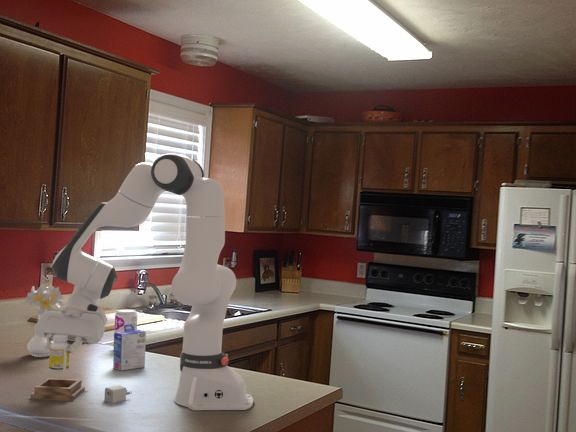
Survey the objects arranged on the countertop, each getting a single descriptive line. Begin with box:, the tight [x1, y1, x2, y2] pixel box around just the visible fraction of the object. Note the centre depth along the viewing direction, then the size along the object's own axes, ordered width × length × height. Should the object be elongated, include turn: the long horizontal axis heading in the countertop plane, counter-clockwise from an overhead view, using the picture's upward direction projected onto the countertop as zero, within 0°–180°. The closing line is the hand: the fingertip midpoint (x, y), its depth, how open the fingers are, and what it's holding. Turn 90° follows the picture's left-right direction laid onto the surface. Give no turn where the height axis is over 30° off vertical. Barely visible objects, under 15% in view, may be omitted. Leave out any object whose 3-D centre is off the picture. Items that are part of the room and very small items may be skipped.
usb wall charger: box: [103, 384, 133, 404], centre depth 194 cm, size 4×7×4 cm, turn 140°
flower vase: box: [23, 283, 65, 358], centre depth 244 cm, size 13×18×25 cm
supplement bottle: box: [48, 335, 71, 373], centre depth 195 cm, size 5×5×10 cm
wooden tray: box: [29, 377, 86, 401], centre depth 195 cm, size 12×10×3 cm
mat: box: [26, 390, 89, 402], centre depth 195 cm, size 14×11×1 cm
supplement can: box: [113, 308, 138, 334], centre depth 261 cm, size 8×8×15 cm
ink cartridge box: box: [112, 324, 147, 372], centre depth 233 cm, size 10×6×14 cm, turn 137°
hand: (58, 350), depth 195 cm, fingers closed on supplement bottle, 5 cm apart
